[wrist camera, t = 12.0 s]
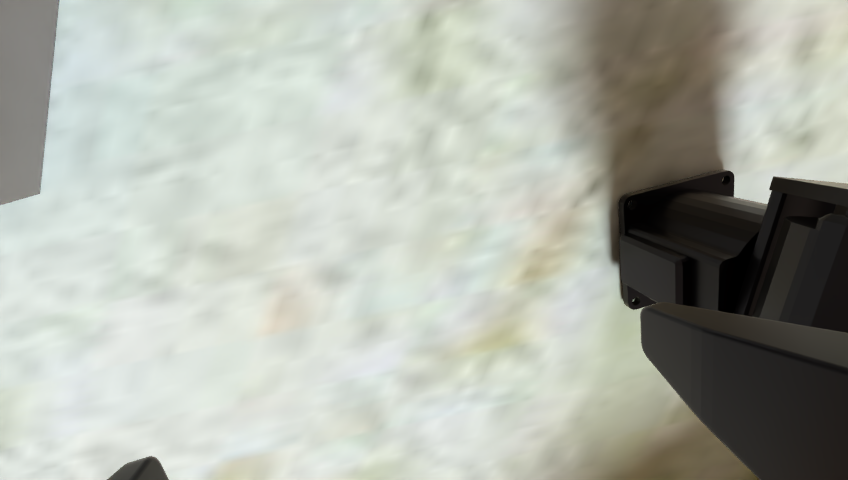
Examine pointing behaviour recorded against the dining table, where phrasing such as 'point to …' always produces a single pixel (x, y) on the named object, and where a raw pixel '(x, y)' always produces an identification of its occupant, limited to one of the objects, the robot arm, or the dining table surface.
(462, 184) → the dining table surface
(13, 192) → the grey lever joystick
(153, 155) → the dining table surface
